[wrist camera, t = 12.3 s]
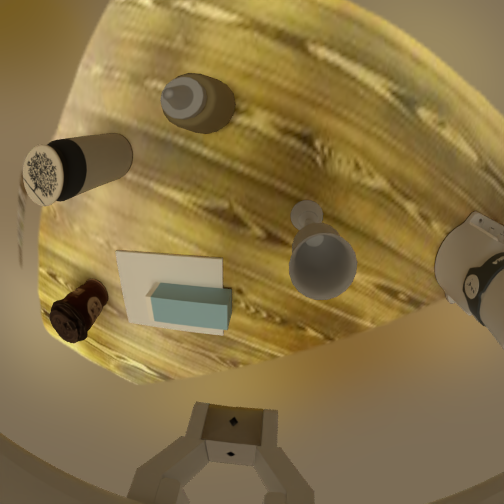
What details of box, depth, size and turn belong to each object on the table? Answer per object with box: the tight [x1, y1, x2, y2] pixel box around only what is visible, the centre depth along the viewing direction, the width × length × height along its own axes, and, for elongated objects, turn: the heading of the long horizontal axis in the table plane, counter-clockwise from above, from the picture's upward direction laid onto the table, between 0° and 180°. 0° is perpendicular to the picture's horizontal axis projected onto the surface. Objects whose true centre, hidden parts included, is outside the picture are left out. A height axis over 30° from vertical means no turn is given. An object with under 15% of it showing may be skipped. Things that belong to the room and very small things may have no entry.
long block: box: [145, 282, 232, 330], centre depth 49 cm, size 5×5×14 cm
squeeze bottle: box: [161, 73, 236, 134], centre depth 31 cm, size 8×8×18 cm
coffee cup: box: [50, 279, 108, 343], centre depth 48 cm, size 9×8×13 cm
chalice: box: [289, 200, 357, 300], centre depth 36 cm, size 7×7×18 cm
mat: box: [115, 250, 224, 335], centre depth 52 cm, size 20×16×1 cm
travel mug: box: [23, 133, 132, 206], centre depth 35 cm, size 8×8×18 cm
